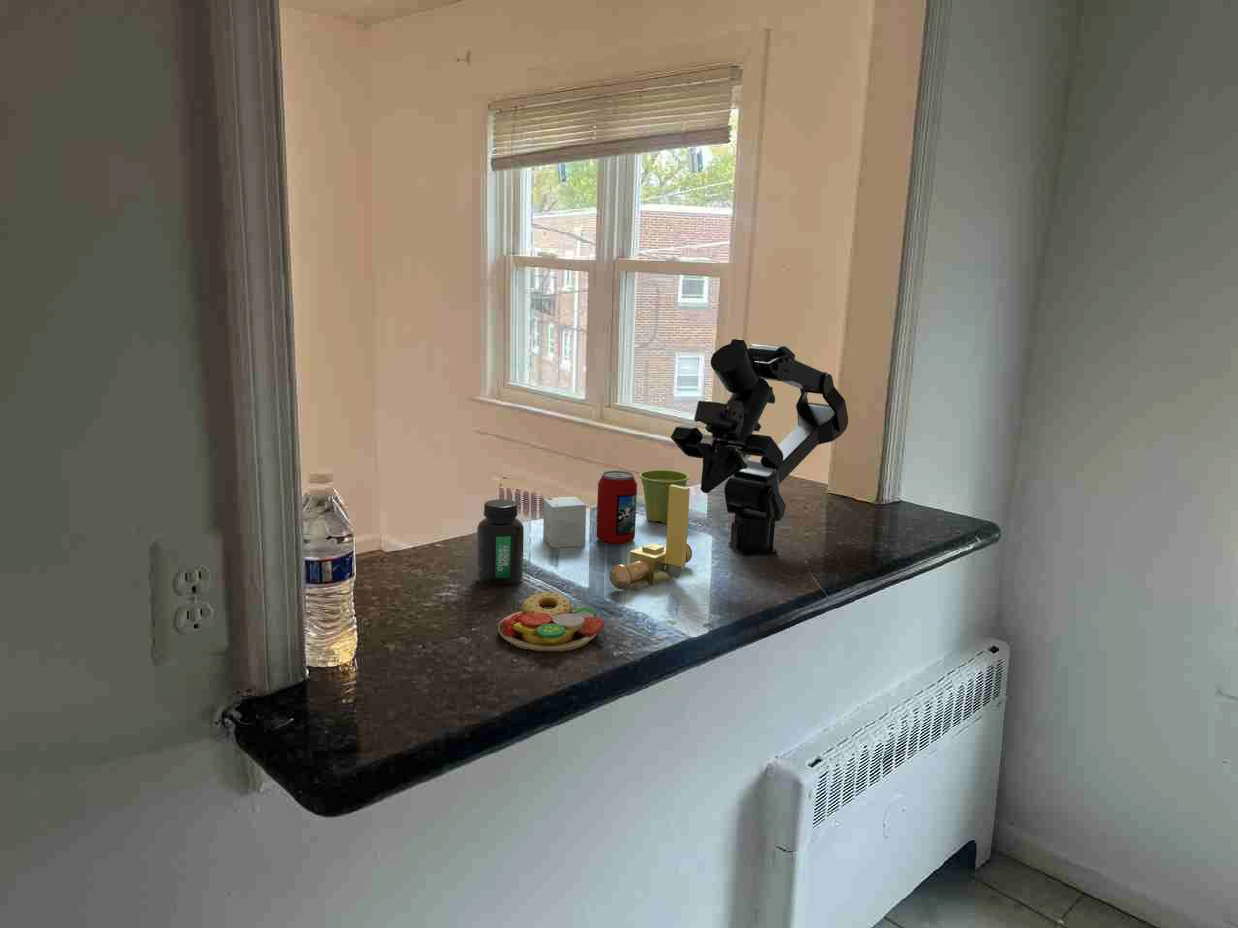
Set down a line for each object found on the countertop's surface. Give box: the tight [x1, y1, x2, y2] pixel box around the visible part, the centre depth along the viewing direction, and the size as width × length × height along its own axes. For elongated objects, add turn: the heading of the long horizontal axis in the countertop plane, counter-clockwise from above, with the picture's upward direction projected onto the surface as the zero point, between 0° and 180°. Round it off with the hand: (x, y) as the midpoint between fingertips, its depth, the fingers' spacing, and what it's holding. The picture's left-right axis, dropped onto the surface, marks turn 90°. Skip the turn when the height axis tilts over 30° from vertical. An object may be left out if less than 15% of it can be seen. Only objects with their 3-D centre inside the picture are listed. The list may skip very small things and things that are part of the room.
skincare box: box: [542, 496, 587, 549], centre depth 154 cm, size 6×6×7 cm
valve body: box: [609, 543, 693, 592], centre depth 138 cm, size 18×5×5 cm, turn 142°
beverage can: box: [596, 470, 638, 546], centre depth 155 cm, size 7×7×12 cm
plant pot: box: [639, 469, 690, 524], centre depth 171 cm, size 9×9×9 cm
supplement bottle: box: [476, 498, 525, 588], centre depth 134 cm, size 7×7×12 cm
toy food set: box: [498, 592, 605, 652], centre depth 116 cm, size 13×13×3 cm
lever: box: [665, 485, 691, 579], centre depth 134 cm, size 2×3×14 cm
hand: (703, 491), depth 140 cm, fingers closed
